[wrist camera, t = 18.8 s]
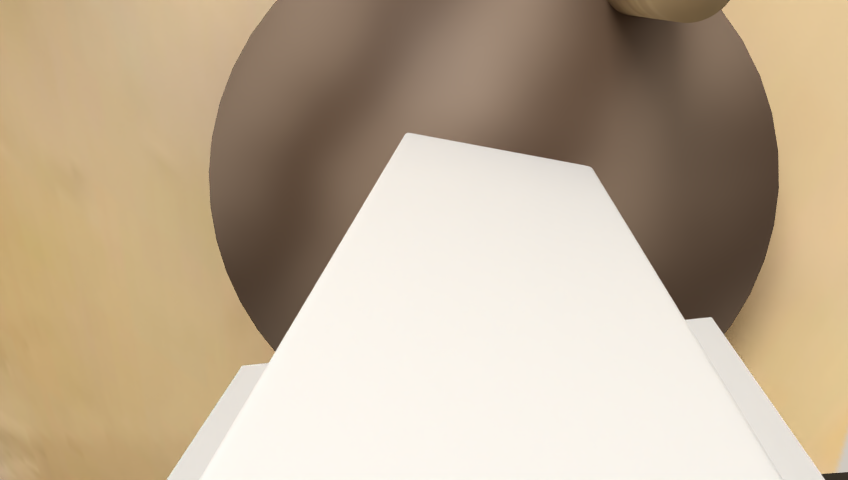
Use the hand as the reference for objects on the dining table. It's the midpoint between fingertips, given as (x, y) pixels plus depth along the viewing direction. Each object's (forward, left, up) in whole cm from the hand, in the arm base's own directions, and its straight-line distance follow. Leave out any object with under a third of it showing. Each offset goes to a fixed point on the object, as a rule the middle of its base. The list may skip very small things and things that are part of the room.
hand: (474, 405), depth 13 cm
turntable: (0, 0, -15) cm, 15 cm away
